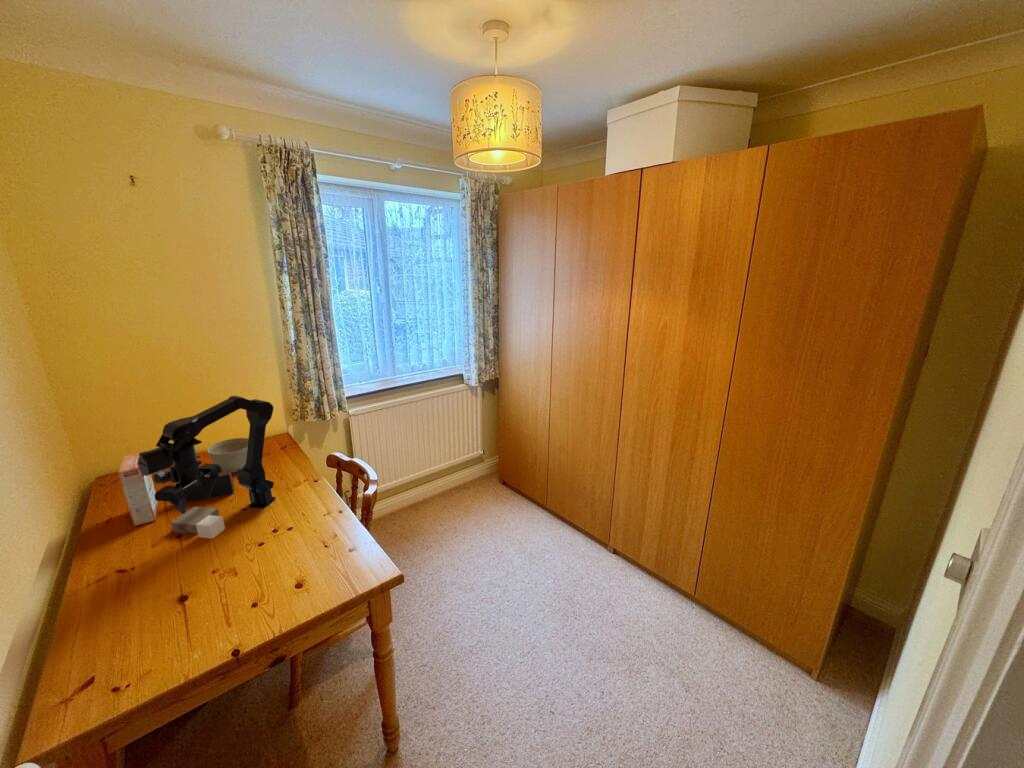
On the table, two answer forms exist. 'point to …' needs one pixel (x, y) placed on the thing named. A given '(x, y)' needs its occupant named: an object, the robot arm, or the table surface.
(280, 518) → the table surface
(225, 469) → the planter bowl
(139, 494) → the cereal box
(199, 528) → the cream cube
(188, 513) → the grey block
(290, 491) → the table surface
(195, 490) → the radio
